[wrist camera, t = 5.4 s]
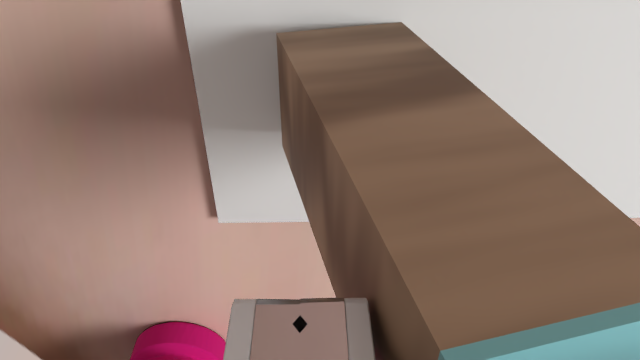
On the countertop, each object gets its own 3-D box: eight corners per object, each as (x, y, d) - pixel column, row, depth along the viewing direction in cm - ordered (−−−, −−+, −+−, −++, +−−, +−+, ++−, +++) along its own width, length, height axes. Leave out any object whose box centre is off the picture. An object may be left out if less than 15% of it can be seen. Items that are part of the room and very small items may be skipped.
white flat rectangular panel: (158, -149, 16) (155, -148, 15) (932, -148, 16) (948, -147, 16) (220, 216, 25) (218, 222, 25) (701, 210, 26) (707, 216, 25)
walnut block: (276, 33, 18) (449, 368, 7) (401, 22, 19) (725, 300, 8) (282, 145, 21) (409, 502, 10) (390, 131, 22) (611, 440, 11)
